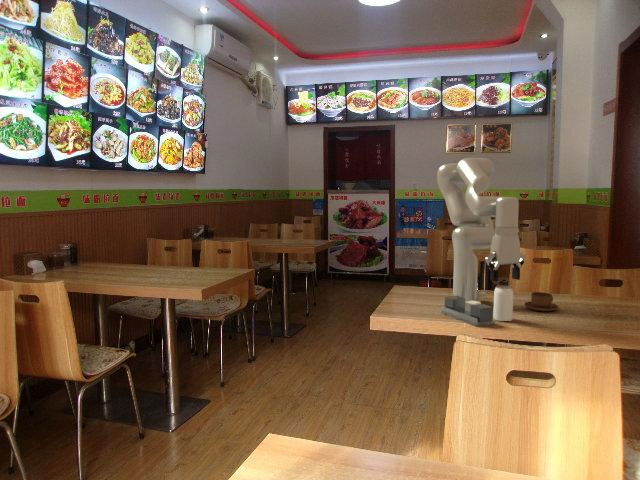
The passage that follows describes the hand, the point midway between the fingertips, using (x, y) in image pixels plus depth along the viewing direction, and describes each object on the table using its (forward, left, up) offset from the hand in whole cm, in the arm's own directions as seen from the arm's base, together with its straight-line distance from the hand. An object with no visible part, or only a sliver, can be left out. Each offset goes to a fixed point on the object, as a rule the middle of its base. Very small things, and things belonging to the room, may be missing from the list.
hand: (505, 280), depth 178 cm
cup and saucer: (-25, -7, -15) cm, 30 cm away
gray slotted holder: (+11, -7, -15) cm, 19 cm away
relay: (+3, -14, -15) cm, 20 cm away
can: (0, -1, -15) cm, 15 cm away
